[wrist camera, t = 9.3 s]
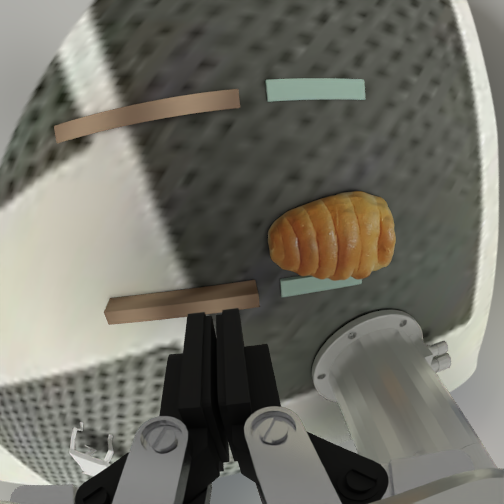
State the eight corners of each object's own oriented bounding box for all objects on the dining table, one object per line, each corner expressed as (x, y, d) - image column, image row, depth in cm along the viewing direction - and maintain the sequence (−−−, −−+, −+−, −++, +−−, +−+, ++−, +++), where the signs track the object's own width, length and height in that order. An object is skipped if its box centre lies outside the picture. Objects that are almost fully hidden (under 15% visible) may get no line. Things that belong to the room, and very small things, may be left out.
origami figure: (60, 436, 33) (53, 464, 29) (78, 414, 31) (69, 446, 27) (134, 468, 37) (132, 496, 33) (161, 451, 35) (160, 482, 31)
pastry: (268, 277, 26) (277, 304, 22) (262, 195, 23) (272, 211, 20) (375, 262, 27) (396, 283, 23) (380, 185, 24) (405, 199, 20)
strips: (361, 79, 20) (364, 79, 19) (359, 281, 27) (361, 283, 27) (265, 80, 19) (266, 79, 19) (280, 294, 26) (281, 297, 26)
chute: (235, 90, 19) (238, 88, 18) (256, 292, 26) (259, 306, 24) (66, 123, 18) (54, 126, 17) (114, 310, 25) (108, 324, 23)
